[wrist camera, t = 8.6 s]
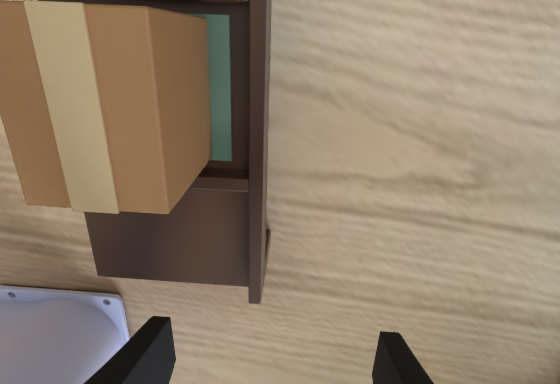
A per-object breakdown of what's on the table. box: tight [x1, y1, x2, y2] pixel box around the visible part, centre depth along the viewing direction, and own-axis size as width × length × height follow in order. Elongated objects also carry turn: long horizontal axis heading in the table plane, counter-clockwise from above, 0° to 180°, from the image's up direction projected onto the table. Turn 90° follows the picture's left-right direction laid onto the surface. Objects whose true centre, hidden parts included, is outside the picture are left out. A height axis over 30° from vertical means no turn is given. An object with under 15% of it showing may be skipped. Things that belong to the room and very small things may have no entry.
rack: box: [38, 0, 272, 304], centre depth 16 cm, size 9×20×6 cm, turn 178°
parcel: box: [0, 0, 213, 214], centre depth 12 cm, size 4×6×6 cm
